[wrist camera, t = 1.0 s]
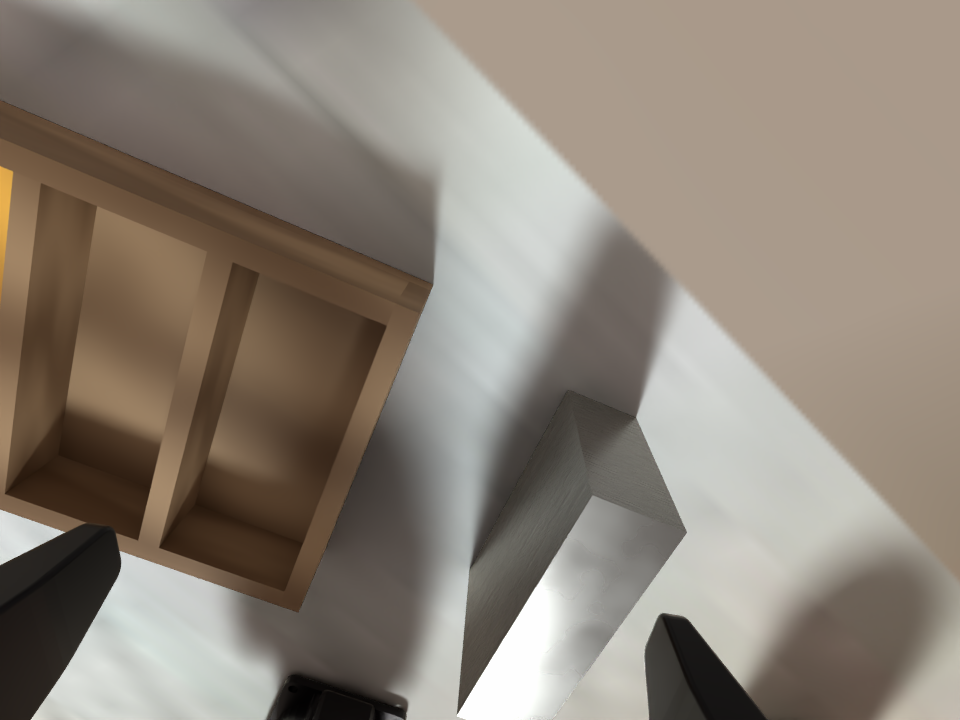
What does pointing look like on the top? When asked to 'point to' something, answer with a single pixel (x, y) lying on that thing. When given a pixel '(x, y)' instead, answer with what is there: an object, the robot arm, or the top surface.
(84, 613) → the robot arm
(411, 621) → the top surface
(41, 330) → the rack
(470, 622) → the block
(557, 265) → the top surface
